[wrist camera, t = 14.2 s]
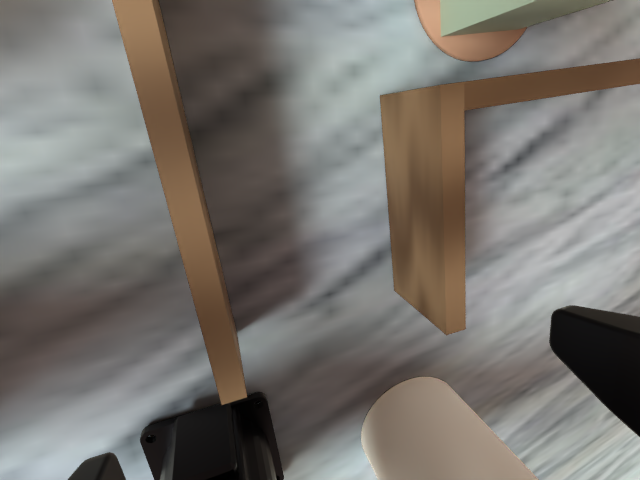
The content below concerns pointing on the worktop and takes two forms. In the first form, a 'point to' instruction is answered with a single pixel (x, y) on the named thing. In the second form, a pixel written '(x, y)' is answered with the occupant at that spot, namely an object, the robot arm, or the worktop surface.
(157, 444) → the robot arm
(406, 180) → the channel
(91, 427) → the worktop surface
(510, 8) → the block
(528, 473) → the cylindrical container
